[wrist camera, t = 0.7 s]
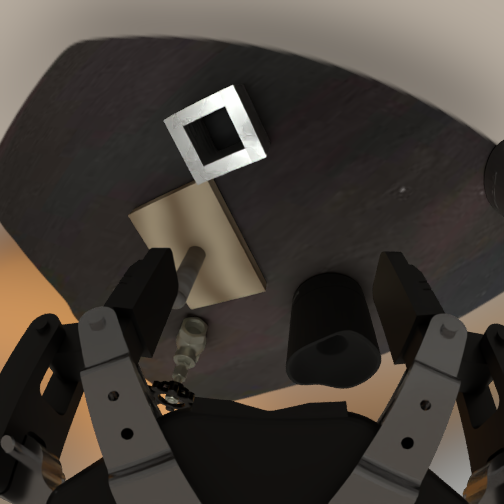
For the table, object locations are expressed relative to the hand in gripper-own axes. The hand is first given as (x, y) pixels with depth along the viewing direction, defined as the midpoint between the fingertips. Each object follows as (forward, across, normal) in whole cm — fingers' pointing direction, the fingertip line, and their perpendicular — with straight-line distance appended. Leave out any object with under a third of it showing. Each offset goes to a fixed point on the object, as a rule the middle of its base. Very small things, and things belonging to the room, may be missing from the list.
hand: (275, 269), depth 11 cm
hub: (+18, +4, -3) cm, 19 cm away
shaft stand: (+18, +8, +10) cm, 22 cm away
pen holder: (+18, -6, +17) cm, 26 cm away
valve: (+19, +11, +24) cm, 33 cm away
